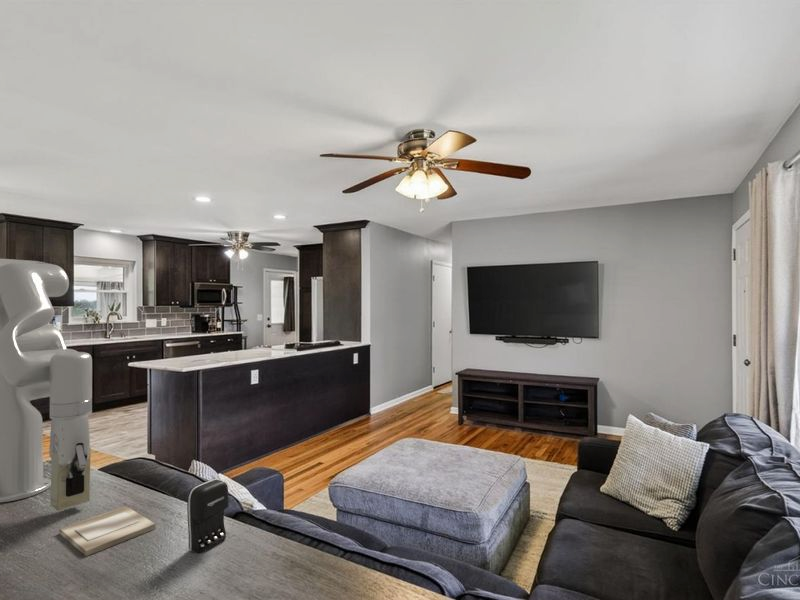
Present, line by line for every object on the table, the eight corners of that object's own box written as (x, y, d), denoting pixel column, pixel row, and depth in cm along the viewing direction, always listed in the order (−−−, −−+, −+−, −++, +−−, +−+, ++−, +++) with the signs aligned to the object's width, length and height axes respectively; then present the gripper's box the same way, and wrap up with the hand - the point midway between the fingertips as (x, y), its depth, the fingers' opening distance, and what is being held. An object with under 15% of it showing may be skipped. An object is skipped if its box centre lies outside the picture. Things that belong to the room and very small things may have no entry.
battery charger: (200, 557, 79) (199, 492, 79) (186, 551, 81) (185, 488, 81) (232, 538, 85) (231, 479, 85) (219, 534, 87) (218, 475, 87)
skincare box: (57, 511, 94) (57, 454, 94) (49, 506, 97) (49, 450, 97) (91, 500, 99) (91, 446, 99) (82, 495, 102) (83, 442, 102)
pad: (59, 533, 88) (59, 527, 88) (125, 510, 98) (125, 504, 98) (86, 556, 80) (86, 549, 80) (155, 528, 90) (155, 522, 90)
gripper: (38, 406, 100) (37, 487, 100) (64, 418, 90) (63, 508, 90) (77, 400, 106) (76, 476, 106) (105, 411, 96) (105, 495, 96)
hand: (70, 490), depth 98 cm, fingers closed on skincare box, 4 cm apart
